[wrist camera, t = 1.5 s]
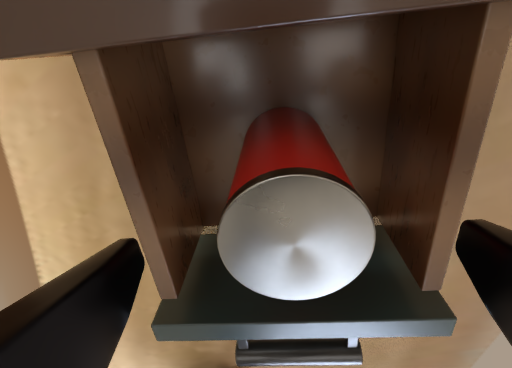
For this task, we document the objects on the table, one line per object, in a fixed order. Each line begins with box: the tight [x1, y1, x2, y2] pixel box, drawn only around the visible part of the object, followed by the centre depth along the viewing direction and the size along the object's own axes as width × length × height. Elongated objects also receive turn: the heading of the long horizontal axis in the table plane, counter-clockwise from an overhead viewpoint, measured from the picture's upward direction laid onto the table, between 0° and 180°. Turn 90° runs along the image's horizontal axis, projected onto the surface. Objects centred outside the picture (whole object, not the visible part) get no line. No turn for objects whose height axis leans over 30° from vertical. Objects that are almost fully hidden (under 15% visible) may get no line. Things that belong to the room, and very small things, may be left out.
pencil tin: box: [217, 107, 376, 300], centre depth 11 cm, size 4×4×8 cm
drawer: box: [72, 0, 512, 366], centre depth 13 cm, size 20×14×7 cm
